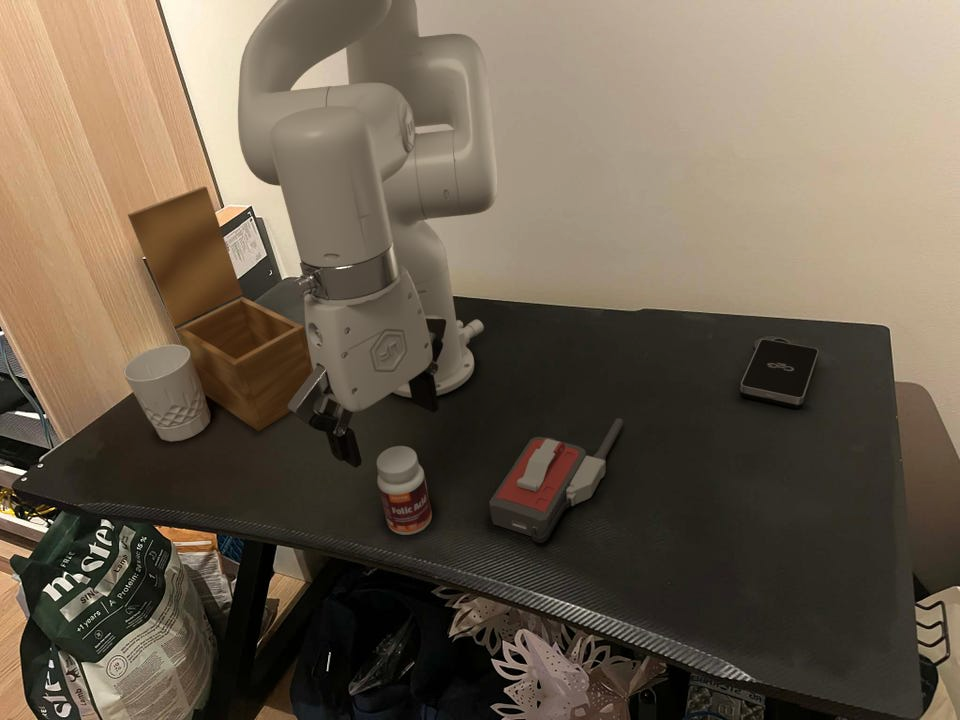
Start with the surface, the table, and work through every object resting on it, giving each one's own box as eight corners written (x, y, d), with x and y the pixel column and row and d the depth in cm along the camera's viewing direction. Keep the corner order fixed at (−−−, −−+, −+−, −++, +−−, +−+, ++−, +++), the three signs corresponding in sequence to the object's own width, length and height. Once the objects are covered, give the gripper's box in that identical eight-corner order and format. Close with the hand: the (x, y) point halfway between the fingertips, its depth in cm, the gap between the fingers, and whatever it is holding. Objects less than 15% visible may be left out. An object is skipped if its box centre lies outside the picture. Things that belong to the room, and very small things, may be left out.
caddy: (322, 391, 95) (303, 326, 89) (258, 431, 89) (233, 364, 84) (263, 358, 104) (242, 296, 98) (201, 392, 98) (175, 329, 93)
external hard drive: (817, 362, 89) (819, 348, 88) (800, 413, 81) (802, 399, 80) (759, 351, 92) (760, 338, 91) (737, 399, 84) (739, 386, 83)
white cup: (195, 446, 88) (167, 381, 83) (140, 443, 90) (109, 379, 84) (226, 407, 95) (202, 344, 89) (174, 405, 96) (147, 343, 91)
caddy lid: (206, 186, 89) (185, 179, 93) (130, 215, 84) (110, 206, 87) (242, 294, 98) (222, 284, 101) (175, 327, 92) (155, 315, 95)
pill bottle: (397, 543, 72) (382, 482, 67) (381, 514, 75) (365, 454, 71) (440, 524, 73) (428, 463, 68) (422, 496, 77) (409, 436, 72)
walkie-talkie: (562, 558, 68) (629, 431, 82) (560, 526, 65) (629, 400, 79) (481, 531, 72) (558, 414, 86) (476, 500, 69) (556, 385, 83)
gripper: (289, 327, 51) (341, 502, 60) (458, 238, 61) (479, 400, 70) (234, 300, 55) (290, 467, 64) (399, 222, 65) (427, 376, 74)
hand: (389, 432), depth 67 cm, fingers open, 9 cm apart
